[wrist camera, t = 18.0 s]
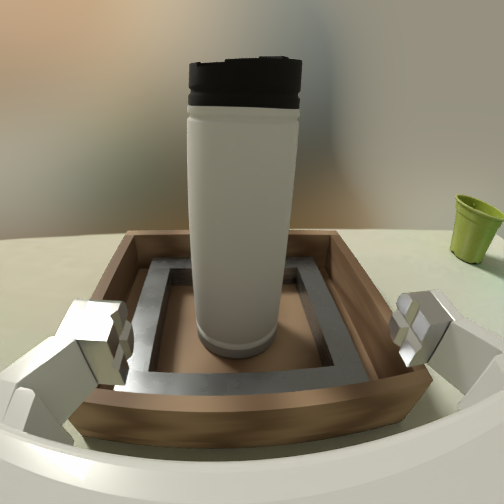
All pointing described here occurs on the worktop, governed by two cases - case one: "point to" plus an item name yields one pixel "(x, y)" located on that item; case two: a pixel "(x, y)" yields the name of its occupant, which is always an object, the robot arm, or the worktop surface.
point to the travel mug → (240, 196)
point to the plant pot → (474, 228)
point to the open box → (254, 360)
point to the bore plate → (224, 384)
